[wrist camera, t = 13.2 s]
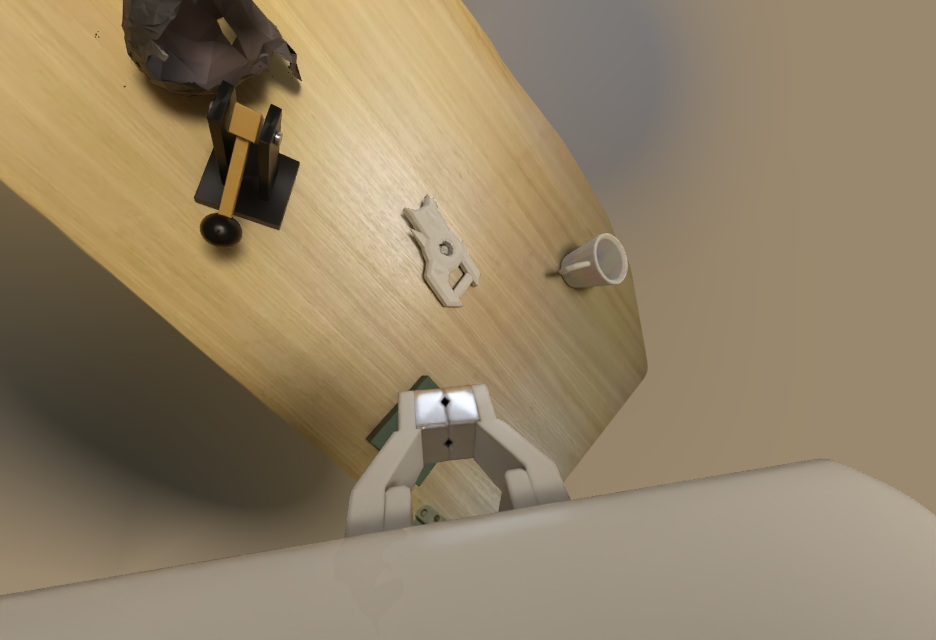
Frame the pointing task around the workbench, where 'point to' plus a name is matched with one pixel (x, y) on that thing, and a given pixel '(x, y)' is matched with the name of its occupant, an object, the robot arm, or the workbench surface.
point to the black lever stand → (248, 165)
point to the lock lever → (233, 179)
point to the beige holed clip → (441, 253)
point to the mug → (595, 263)
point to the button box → (391, 425)
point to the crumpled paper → (200, 43)
